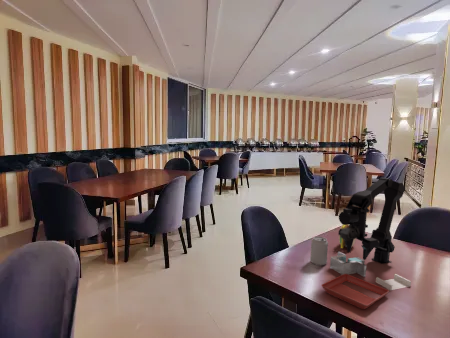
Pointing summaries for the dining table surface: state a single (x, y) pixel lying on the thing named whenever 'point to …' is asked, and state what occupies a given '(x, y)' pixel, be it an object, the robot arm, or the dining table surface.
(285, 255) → the dining table surface
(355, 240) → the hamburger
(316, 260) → the can
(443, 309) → the dining table surface
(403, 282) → the white flat channel piece
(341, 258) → the bracket
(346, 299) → the plant saucer
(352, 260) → the plug
